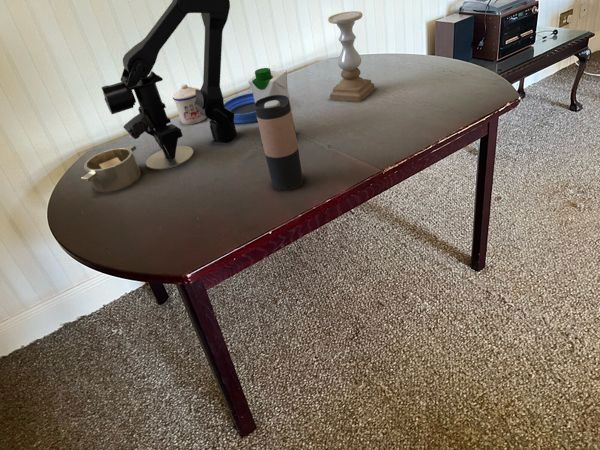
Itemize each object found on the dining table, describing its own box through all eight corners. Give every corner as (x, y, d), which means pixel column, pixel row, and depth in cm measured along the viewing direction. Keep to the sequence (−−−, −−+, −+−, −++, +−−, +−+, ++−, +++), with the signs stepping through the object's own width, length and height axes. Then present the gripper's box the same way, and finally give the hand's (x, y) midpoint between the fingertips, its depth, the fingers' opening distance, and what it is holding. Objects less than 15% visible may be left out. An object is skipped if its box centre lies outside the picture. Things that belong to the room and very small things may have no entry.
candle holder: (375, 88, 150) (370, 9, 137) (360, 102, 143) (353, 20, 130) (345, 87, 156) (337, 11, 142) (329, 99, 149) (319, 21, 135)
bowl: (214, 124, 148) (211, 113, 146) (240, 102, 161) (238, 92, 159) (264, 125, 141) (262, 114, 139) (287, 101, 154) (285, 91, 152)
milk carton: (259, 145, 129) (243, 73, 118) (274, 131, 136) (259, 62, 124) (287, 146, 126) (273, 73, 114) (301, 132, 132) (288, 61, 121)
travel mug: (271, 177, 113) (253, 98, 101) (302, 172, 113) (288, 92, 101) (272, 193, 107) (253, 111, 95) (305, 187, 106) (290, 104, 95)
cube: (124, 173, 127) (117, 157, 125) (129, 179, 124) (122, 163, 121) (106, 180, 126) (98, 164, 123) (111, 187, 122) (103, 170, 119)
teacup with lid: (185, 127, 149) (174, 92, 143) (177, 120, 156) (166, 86, 150) (219, 115, 153) (210, 81, 147) (210, 109, 160) (201, 75, 154)
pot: (156, 166, 129) (148, 144, 125) (112, 201, 116) (101, 177, 112) (123, 163, 134) (114, 142, 130) (77, 196, 121) (65, 173, 117)
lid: (203, 150, 133) (197, 130, 129) (175, 173, 123) (168, 153, 120) (167, 147, 138) (160, 129, 135) (137, 170, 129) (129, 150, 125)
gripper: (111, 104, 125) (132, 155, 134) (130, 121, 111) (152, 177, 120) (150, 90, 129) (168, 142, 138) (173, 105, 115) (191, 161, 124)
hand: (169, 155), depth 130 cm, fingers open, 6 cm apart
